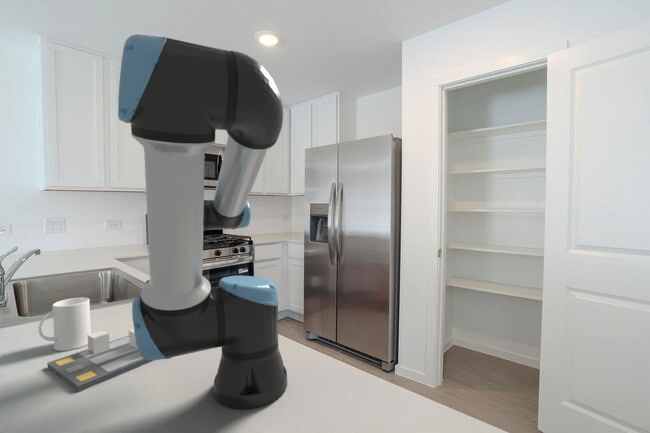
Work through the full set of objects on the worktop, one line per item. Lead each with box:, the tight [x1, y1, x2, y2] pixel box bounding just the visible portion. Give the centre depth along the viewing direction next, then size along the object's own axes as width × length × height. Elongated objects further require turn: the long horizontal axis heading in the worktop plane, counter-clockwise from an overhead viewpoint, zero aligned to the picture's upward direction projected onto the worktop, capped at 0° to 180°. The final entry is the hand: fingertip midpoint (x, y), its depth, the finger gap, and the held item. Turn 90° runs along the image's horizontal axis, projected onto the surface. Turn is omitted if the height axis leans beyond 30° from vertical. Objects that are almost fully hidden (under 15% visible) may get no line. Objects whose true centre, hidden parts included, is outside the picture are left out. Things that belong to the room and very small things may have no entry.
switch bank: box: [46, 335, 155, 392], centre depth 83 cm, size 18×22×1 cm
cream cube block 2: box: [128, 328, 138, 348], centre depth 88 cm, size 4×4×4 cm
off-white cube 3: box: [87, 330, 110, 354], centre depth 85 cm, size 4×4×4 cm
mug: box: [38, 297, 92, 352], centre depth 90 cm, size 12×8×12 cm
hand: (174, 336), depth 89 cm, fingers closed
